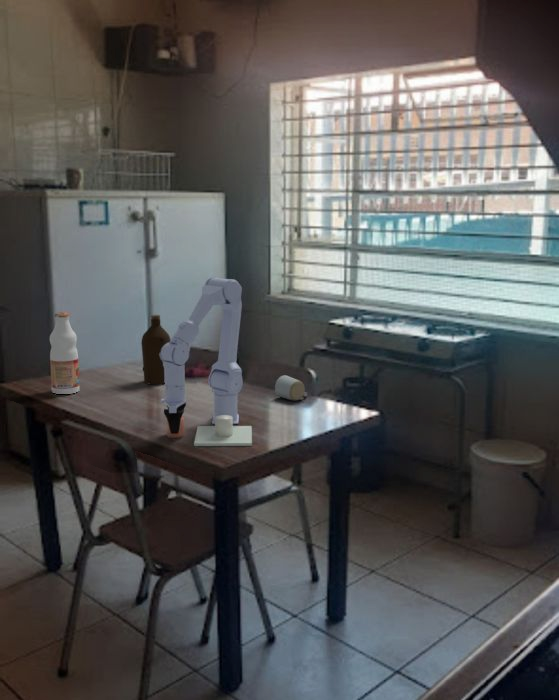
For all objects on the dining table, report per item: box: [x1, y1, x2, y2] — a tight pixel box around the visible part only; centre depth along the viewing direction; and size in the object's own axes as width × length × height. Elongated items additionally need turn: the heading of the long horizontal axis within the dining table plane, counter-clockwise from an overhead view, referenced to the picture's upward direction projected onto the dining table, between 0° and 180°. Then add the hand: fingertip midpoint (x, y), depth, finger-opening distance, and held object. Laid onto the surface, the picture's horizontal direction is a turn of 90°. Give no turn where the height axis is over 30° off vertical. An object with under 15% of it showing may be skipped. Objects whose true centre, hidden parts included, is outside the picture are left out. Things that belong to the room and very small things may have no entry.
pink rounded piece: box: [166, 416, 185, 439], centre depth 219 cm, size 5×5×5 cm
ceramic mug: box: [274, 374, 308, 402], centre depth 260 cm, size 11×8×8 cm
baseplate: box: [193, 425, 253, 447], centre depth 218 cm, size 16×16×1 cm
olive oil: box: [141, 314, 171, 385], centre depth 279 cm, size 11×11×25 cm
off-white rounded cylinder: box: [214, 415, 234, 437], centre depth 217 cm, size 5×5×5 cm
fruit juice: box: [49, 311, 80, 395], centre depth 263 cm, size 9×9×28 cm
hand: (175, 430), depth 219 cm, fingers closed on pink rounded piece, 5 cm apart
